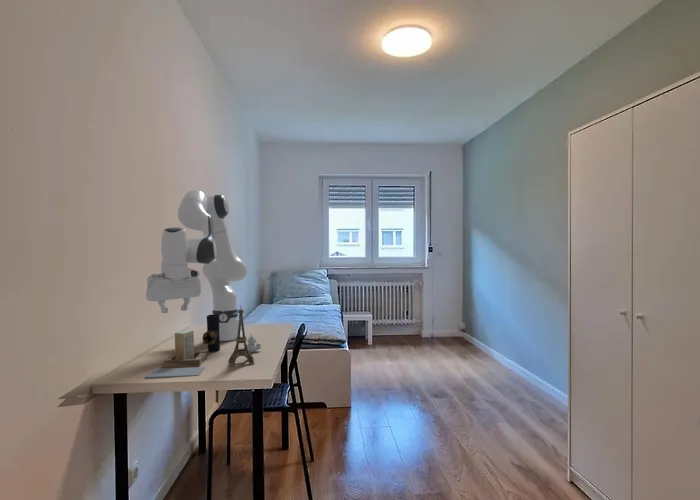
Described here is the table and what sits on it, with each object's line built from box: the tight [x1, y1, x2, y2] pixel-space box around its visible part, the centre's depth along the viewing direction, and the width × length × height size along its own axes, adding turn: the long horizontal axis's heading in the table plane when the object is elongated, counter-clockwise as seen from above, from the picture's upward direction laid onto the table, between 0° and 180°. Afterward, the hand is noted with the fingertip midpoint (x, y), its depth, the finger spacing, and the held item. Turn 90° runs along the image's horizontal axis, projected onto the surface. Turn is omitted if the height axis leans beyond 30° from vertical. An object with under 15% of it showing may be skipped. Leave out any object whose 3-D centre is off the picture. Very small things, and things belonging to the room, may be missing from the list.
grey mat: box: [144, 366, 206, 379], centre depth 160 cm, size 10×18×1 cm, turn 97°
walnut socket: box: [162, 351, 207, 369], centre depth 173 cm, size 13×13×2 cm
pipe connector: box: [202, 314, 221, 353], centre depth 189 cm, size 12×5×15 cm, turn 4°
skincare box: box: [174, 329, 195, 360], centre depth 173 cm, size 6×4×12 cm
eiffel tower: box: [227, 306, 255, 368], centre depth 171 cm, size 11×11×25 cm
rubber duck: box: [246, 334, 262, 354], centre depth 189 cm, size 5×7×8 cm
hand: (174, 311), depth 160 cm, fingers open, 7 cm apart
